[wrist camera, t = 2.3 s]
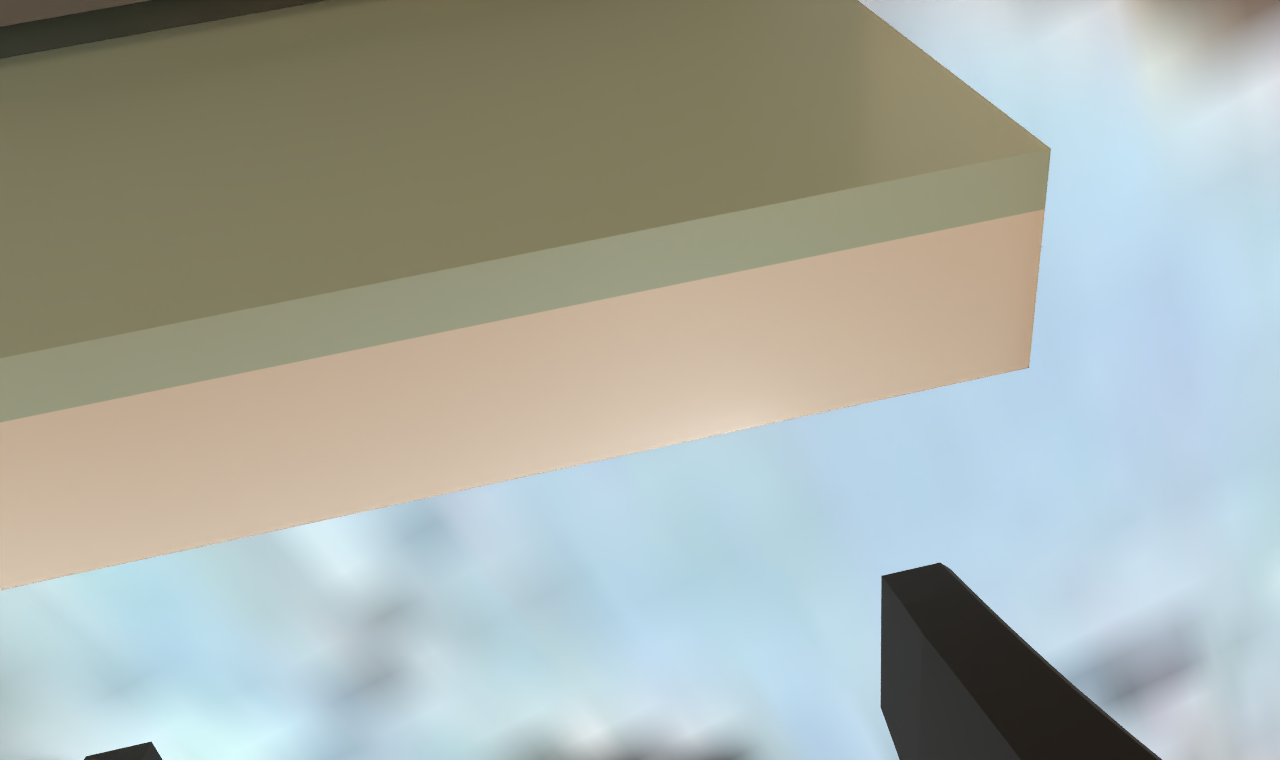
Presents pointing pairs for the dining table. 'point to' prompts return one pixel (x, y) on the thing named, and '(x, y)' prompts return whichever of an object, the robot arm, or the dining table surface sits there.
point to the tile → (473, 253)
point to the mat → (50, 8)
